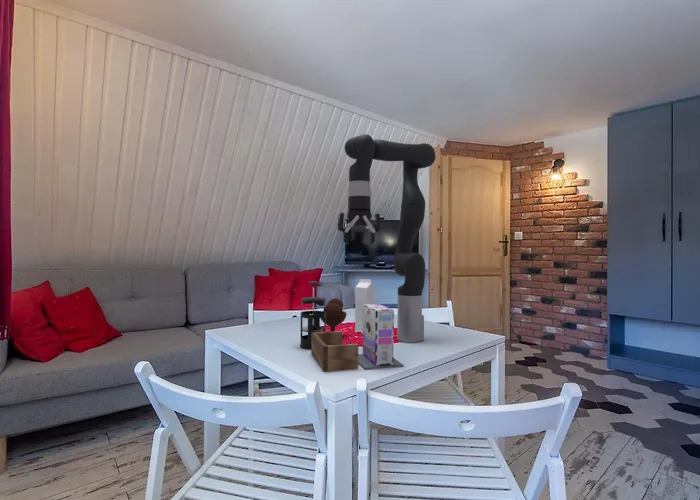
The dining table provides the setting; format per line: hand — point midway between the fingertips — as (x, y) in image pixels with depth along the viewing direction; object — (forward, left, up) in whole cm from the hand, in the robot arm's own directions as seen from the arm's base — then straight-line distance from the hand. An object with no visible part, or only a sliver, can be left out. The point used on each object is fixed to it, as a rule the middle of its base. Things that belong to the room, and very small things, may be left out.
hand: (359, 244), depth 132 cm
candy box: (-2, +12, -36) cm, 38 cm away
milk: (-12, -30, -36) cm, 49 cm away
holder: (+10, +8, -36) cm, 38 cm away
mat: (-2, +12, -36) cm, 38 cm away
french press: (+13, -12, -36) cm, 40 cm away
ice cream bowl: (+3, -25, -36) cm, 44 cm away
